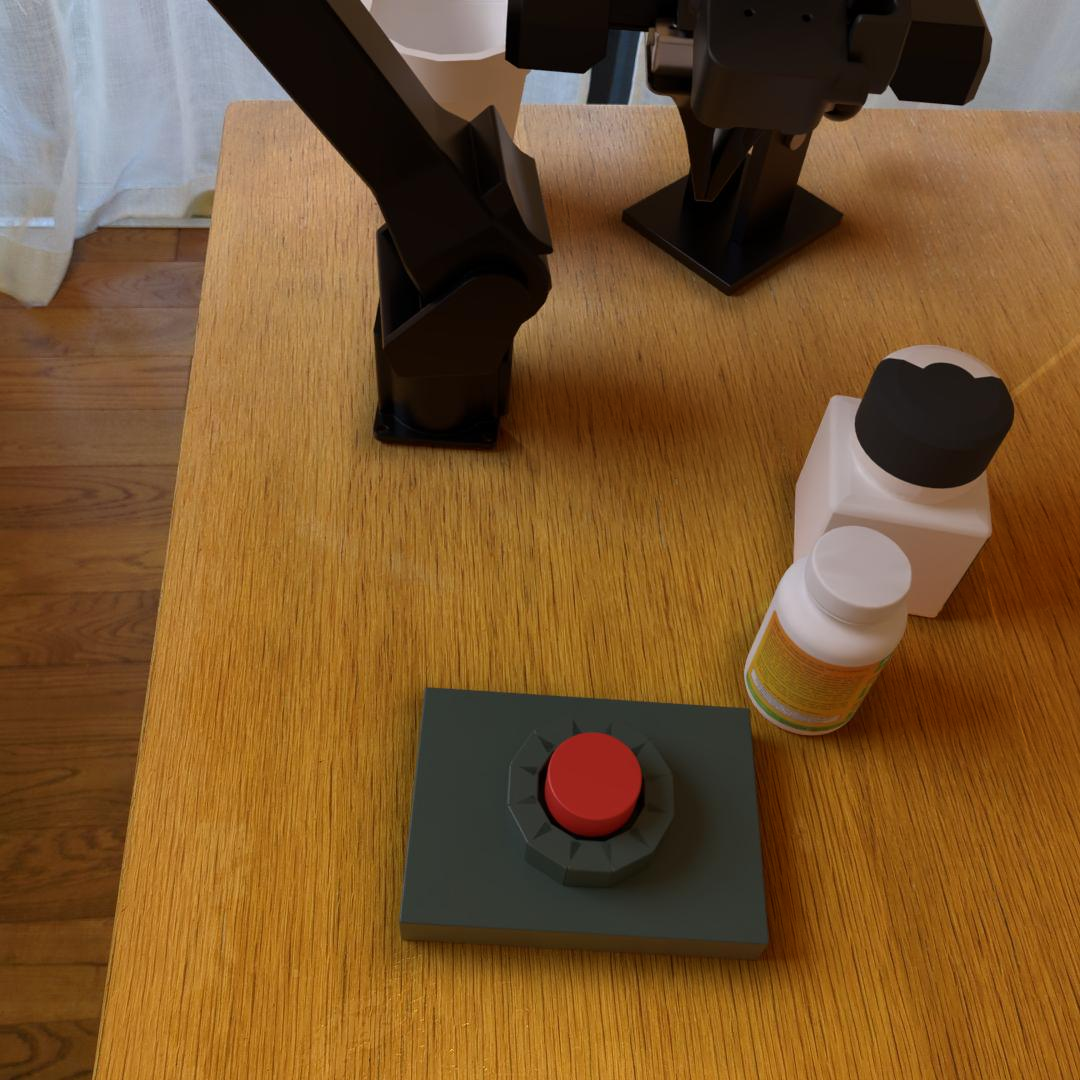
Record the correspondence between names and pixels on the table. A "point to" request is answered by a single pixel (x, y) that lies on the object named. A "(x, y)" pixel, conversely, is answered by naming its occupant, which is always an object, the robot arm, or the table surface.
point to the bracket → (739, 216)
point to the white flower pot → (456, 53)
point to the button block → (574, 860)
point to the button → (592, 784)
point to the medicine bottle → (910, 465)
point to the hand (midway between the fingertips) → (703, 195)
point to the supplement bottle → (829, 631)
